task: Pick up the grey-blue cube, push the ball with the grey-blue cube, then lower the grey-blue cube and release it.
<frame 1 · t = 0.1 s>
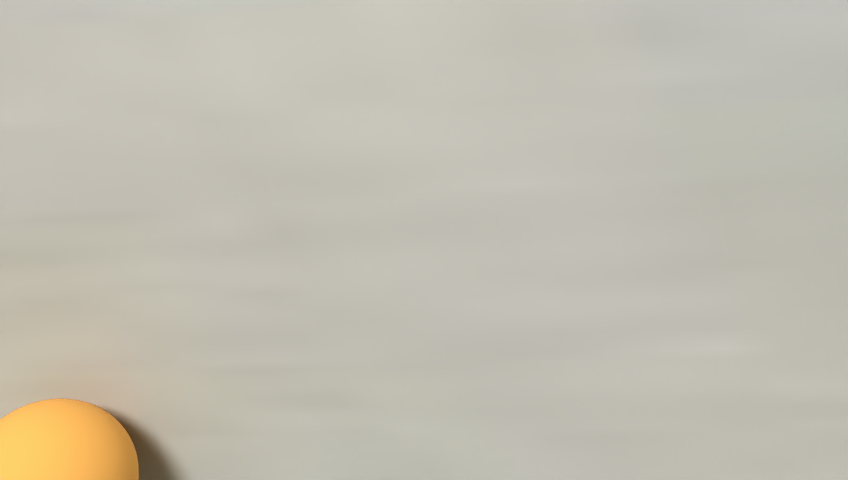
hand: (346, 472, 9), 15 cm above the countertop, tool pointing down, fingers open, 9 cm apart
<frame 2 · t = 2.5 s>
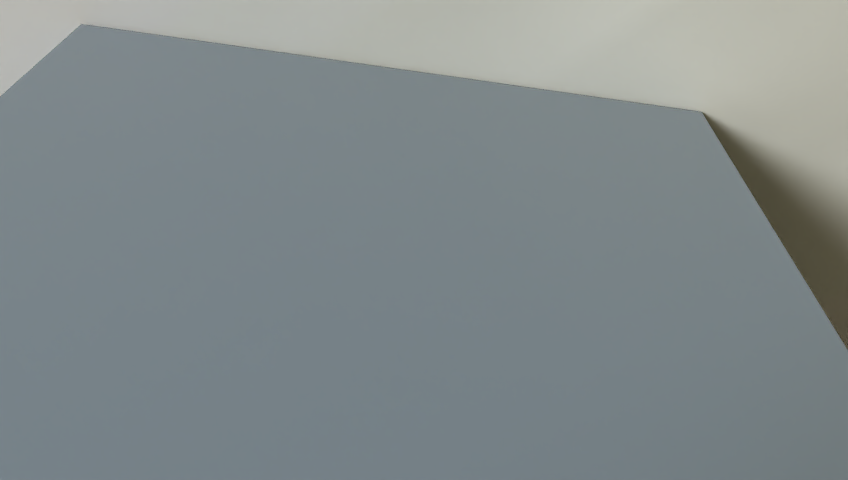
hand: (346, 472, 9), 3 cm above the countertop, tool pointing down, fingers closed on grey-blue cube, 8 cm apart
grey-blue cube: (367, 309, 12), on the countertop, touching gripper
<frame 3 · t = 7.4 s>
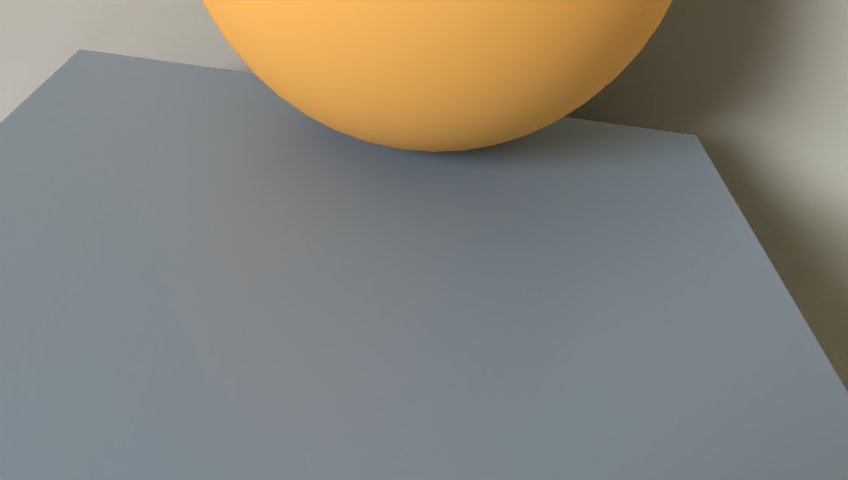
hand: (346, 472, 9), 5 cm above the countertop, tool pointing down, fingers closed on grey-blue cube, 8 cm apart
grey-blue cube: (364, 329, 12), point 2 cm above the countertop, touching gripper
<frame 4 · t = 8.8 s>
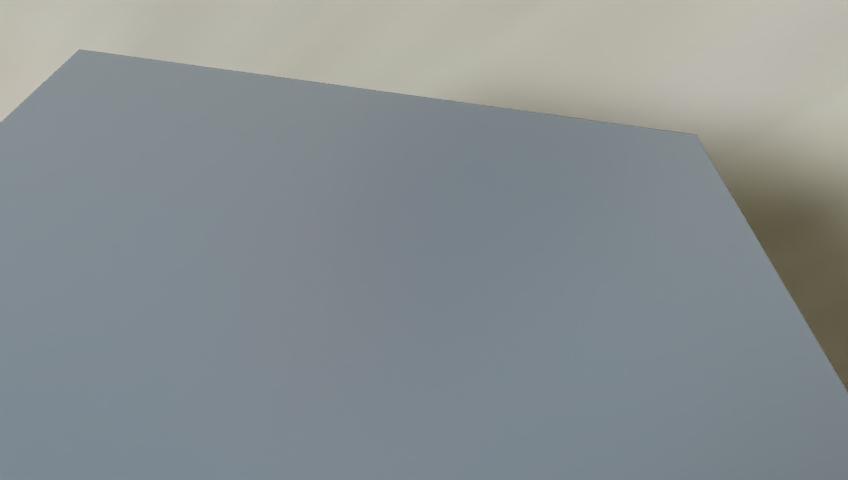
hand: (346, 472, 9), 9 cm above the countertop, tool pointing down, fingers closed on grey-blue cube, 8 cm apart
grey-blue cube: (364, 329, 12), point 6 cm above the countertop, touching gripper
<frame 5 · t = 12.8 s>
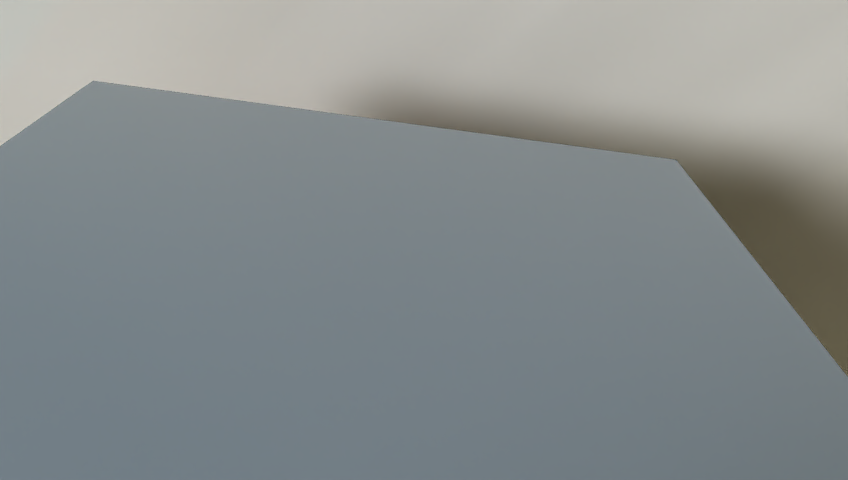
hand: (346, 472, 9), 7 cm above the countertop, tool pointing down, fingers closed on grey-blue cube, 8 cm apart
grey-blue cube: (360, 361, 12), point 4 cm above the countertop, tilted 8°, touching ball, gripper
when the fingers open (4 cm above the countertop, at t = 14.3 s): grey-blue cube stays where it is, point 2 cm above the countertop.
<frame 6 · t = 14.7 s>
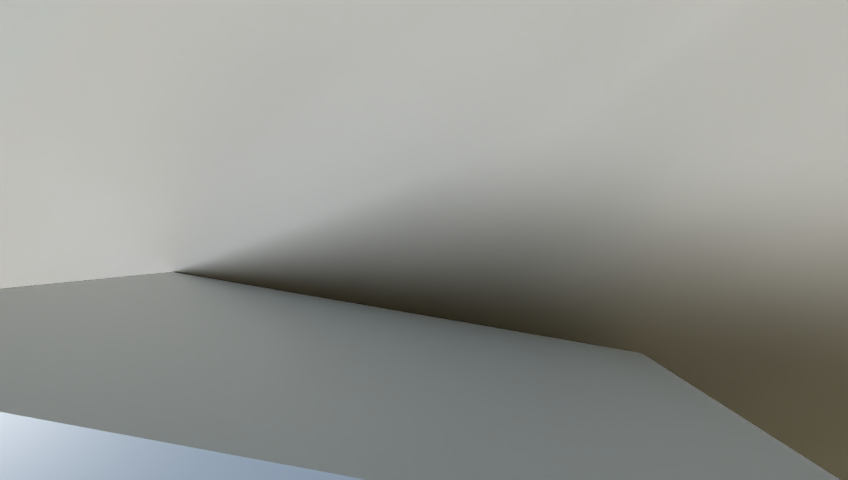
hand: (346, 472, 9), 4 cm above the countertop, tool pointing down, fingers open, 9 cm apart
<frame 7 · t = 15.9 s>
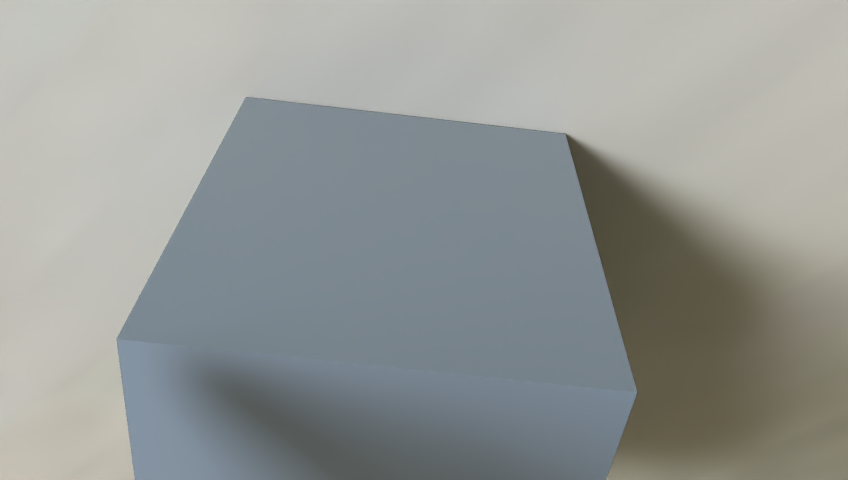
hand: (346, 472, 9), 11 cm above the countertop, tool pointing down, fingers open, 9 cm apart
grey-blue cube: (392, 247, 21), on the countertop
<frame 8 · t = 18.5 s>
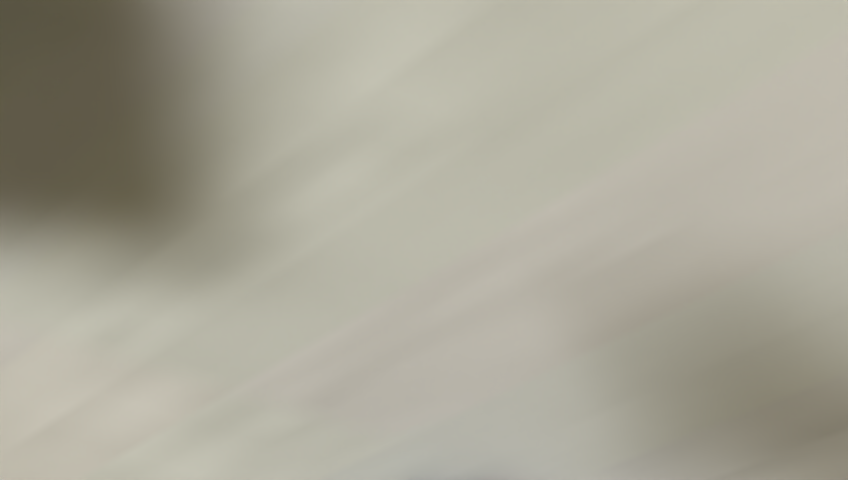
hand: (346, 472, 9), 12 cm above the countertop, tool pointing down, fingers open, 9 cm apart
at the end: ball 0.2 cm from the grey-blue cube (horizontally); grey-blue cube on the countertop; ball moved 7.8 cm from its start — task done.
